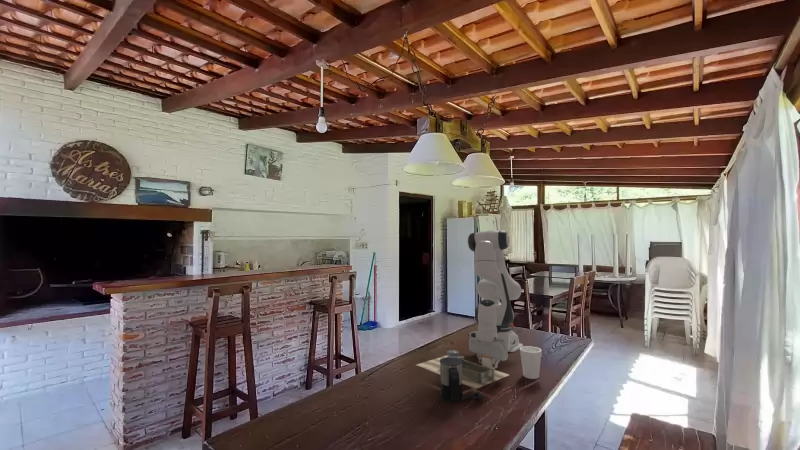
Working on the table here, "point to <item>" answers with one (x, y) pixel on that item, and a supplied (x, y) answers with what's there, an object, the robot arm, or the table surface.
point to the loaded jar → (452, 353)
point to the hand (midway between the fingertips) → (488, 365)
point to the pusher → (462, 360)
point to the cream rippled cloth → (468, 373)
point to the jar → (487, 362)
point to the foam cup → (531, 361)
